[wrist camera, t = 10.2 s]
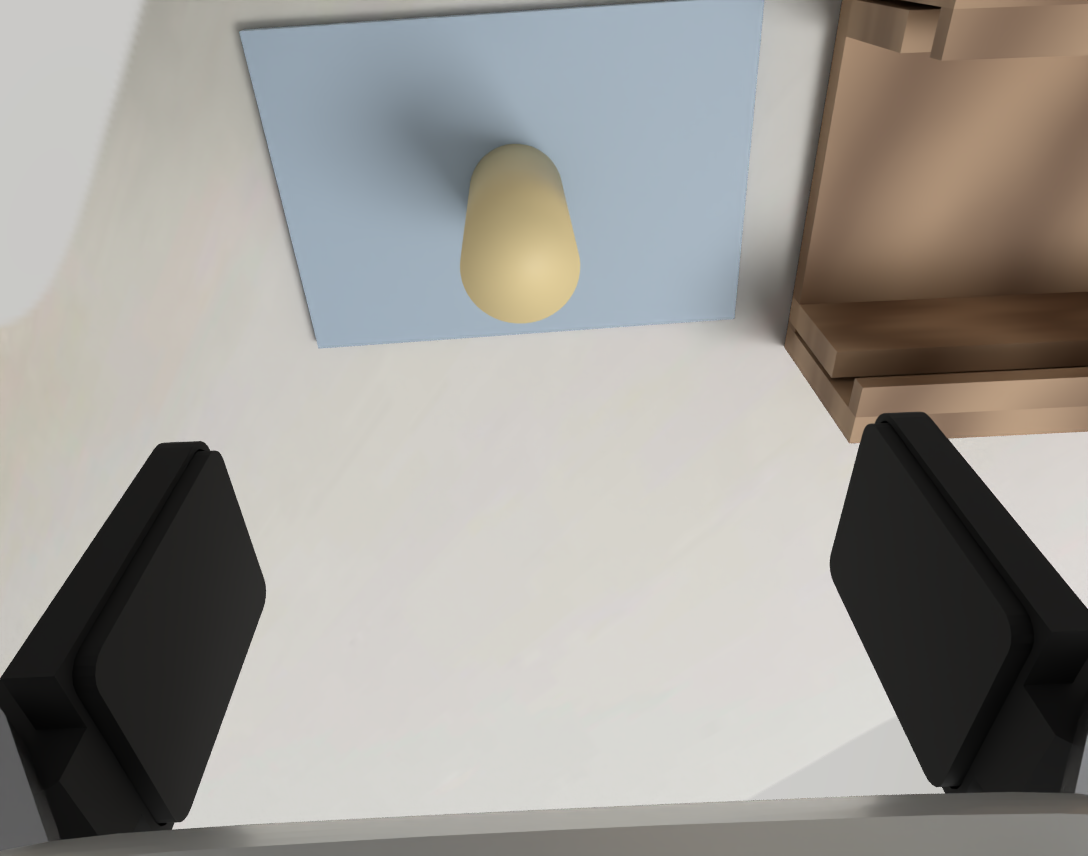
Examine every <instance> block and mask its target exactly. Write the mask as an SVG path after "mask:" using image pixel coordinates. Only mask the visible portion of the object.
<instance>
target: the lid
mask: <svg viewBox="0 0 1088 856" xmlns="http://www.w3.org/2000/svg"><path fill="white" fill-rule="evenodd" d="M763 9H764V0H673V1H658V2H644V3H629V4H614V5H599V6H585V7H570V8H555V9H540V10H525V11H511V12H496V13H481V14H466V15H452V16H437V17H422V18H407V19H392V20H378V21H363V22H348V23H333V24H319V25H304V26H289V27H274V28H259V29H245V30H242V31H239V33H240V37H241V41H242V45H243V49H244V53H245V57H246V61H247V65H248V69H249V73H250V77H251V81H252V85H253V89H254V93H255V97H256V101H257V105H258V109H259V113H260V117H261V121H262V125H263V129H264V133H265V137H266V141H267V145H268V149H269V153H270V157H271V161H272V165H273V169H274V173H275V177H276V181H277V184H278V188H279V192H280V196H281V200H282V204H283V208H284V212H285V216H286V220H287V224H288V228H289V232H290V236H291V240H292V244H293V248H294V252H295V256H296V260H297V264H298V268H299V272H300V276H301V280H302V284H303V288H304V292H305V296H306V300H307V304H308V308H309V312H310V316H311V320H312V324H313V328H314V332H315V336H316V340H317V344H318V348H332V347H346V346H361V345H375V344H389V343H403V342H417V341H431V340H445V339H459V338H473V337H487V336H501V335H515V334H529V333H543V332H557V331H571V330H585V329H599V328H613V327H627V326H641V325H655V324H669V323H683V322H698V321H712V320H726V319H734V318H735V307H736V296H737V286H738V275H739V264H740V254H741V243H742V233H743V222H744V211H745V201H746V190H747V179H748V169H749V158H750V148H751V137H752V126H753V116H754V105H755V94H756V84H757V73H758V63H759V52H760V41H761V31H762V20H763Z"/></svg>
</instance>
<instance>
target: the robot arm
mask: <svg viewBox="0 0 1088 856" xmlns="http://www.w3.org/2000/svg"><path fill="white" fill-rule="evenodd" d="M830 572H831V576H832V579H833V582H834V584H835V586H836V588H837V591H838V593H839V595H840V597H841V599H842V601H843V603H844V605H845V607H846V609H847V612H848V614H849V616H850V618H851V620H852V622H853V624H854V626H855V628H856V631H857V633H858V635H859V637H860V639H861V641H862V643H863V645H864V647H865V650H866V652H867V654H868V656H869V658H870V660H871V662H872V664H873V666H874V668H875V671H876V673H877V675H878V677H879V679H880V681H881V683H882V685H883V687H884V690H885V692H886V694H887V696H888V698H889V700H890V702H891V704H892V706H893V708H894V711H895V713H896V715H897V717H898V719H899V721H900V723H901V725H902V727H903V730H904V732H905V734H906V736H907V737H908V740H909V742H910V744H911V746H912V748H913V751H914V752H915V754H916V757H917V759H918V761H919V763H920V765H921V767H922V770H923V772H924V774H925V775H926V777H927V779H928V780H929V782H930V783H931V784H932V785H934V786H935V787H942V788H943V790H944V792H945V794H911V795H910V794H907V795H875V796H849V797H825V798H801V799H778V800H777V799H776V800H753V801H728V802H703V803H680V804H658V805H636V806H614V807H592V808H570V809H549V810H528V811H507V812H486V813H464V814H443V815H424V816H405V817H385V818H366V819H347V820H327V821H308V822H289V823H269V824H250V825H235V826H220V827H206V828H191V829H176V830H172V828H173V825H174V822H182V821H183V820H184V819H185V818H186V817H187V815H188V813H189V811H190V809H191V807H192V804H193V801H194V798H195V795H196V793H197V790H198V787H199V784H200V782H201V779H202V776H203V773H204V771H205V768H206V765H207V762H208V760H209V757H210V754H211V751H212V748H213V746H214V743H215V740H216V737H217V735H218V732H219V729H220V726H221V724H222V721H223V718H224V715H225V713H226V710H227V707H228V704H229V701H230V699H231V696H232V693H233V690H234V688H235V685H236V682H237V679H238V677H239V674H240V671H241V668H242V665H243V663H244V660H245V657H246V654H247V652H248V649H249V646H250V643H251V641H252V638H253V635H254V632H255V630H256V627H257V624H258V621H259V618H260V616H261V613H262V610H263V607H264V604H265V598H266V586H265V581H264V577H263V574H262V572H261V569H260V566H259V563H258V560H257V557H256V554H255V551H254V548H253V545H252V542H251V539H250V536H249V533H248V530H247V528H246V525H245V522H244V519H243V516H242V513H241V510H240V507H239V504H238V501H237V498H236V495H235V492H234V489H233V486H232V484H231V481H230V478H229V475H228V472H227V469H226V466H225V463H224V460H223V458H222V456H221V454H220V453H219V452H218V451H210V449H209V447H208V446H207V445H206V444H205V443H204V442H201V441H194V442H170V443H161V444H158V445H157V447H156V448H155V449H154V450H153V452H152V453H151V455H150V456H149V458H148V459H147V461H146V462H145V464H144V465H143V467H142V468H141V469H140V471H139V472H138V474H137V475H136V477H135V478H134V480H133V481H132V483H131V484H130V486H129V487H128V489H127V490H126V492H125V493H124V495H123V496H122V498H121V499H120V501H119V502H118V504H117V505H116V507H115V508H114V510H113V511H112V513H111V514H110V516H109V517H108V519H107V520H106V522H105V523H104V525H103V526H102V528H101V529H100V531H99V532H98V534H97V535H96V536H95V538H94V539H93V541H92V542H91V544H90V545H89V547H88V548H87V550H86V551H85V553H84V554H83V556H82V557H81V559H80V560H79V562H78V563H77V565H76V566H75V568H74V569H73V571H72V572H71V574H70V575H69V577H68V578H67V580H66V581H65V583H64V584H63V586H62V587H61V589H60V590H59V592H58V593H57V595H56V596H55V598H54V599H53V601H52V602H51V603H50V605H49V606H48V608H47V609H46V611H45V612H44V614H43V615H42V617H41V618H40V620H39V621H38V623H37V624H36V626H35V627H34V629H33V630H32V632H31V633H30V635H29V636H28V638H27V639H26V641H25V642H24V644H23V645H22V647H21V648H20V650H19V651H18V653H17V654H16V656H15V657H14V659H13V660H12V662H11V663H10V665H9V666H8V668H7V669H6V670H5V672H4V673H3V675H2V676H1V678H0V856H1088V609H1087V608H1086V606H1085V605H1084V604H1083V603H1082V601H1081V600H1080V599H1079V598H1078V597H1077V595H1076V594H1075V593H1074V592H1073V591H1072V589H1071V588H1070V587H1069V586H1068V584H1067V583H1066V582H1065V581H1064V580H1063V578H1062V577H1061V576H1060V575H1059V573H1058V572H1057V571H1056V570H1055V569H1054V567H1053V566H1052V565H1051V564H1050V563H1049V561H1048V560H1047V559H1046V558H1045V556H1044V555H1043V554H1042V553H1041V552H1040V550H1039V549H1038V548H1037V547H1036V545H1035V544H1034V543H1033V542H1032V541H1031V539H1030V538H1029V537H1028V536H1027V534H1026V533H1025V532H1024V531H1023V530H1022V528H1021V527H1020V526H1019V525H1018V524H1017V522H1016V521H1015V520H1014V519H1013V517H1012V516H1011V515H1010V514H1009V513H1008V511H1007V510H1006V509H1005V508H1004V506H1003V505H1002V504H1001V503H1000V502H999V500H998V499H997V498H996V497H995V496H994V494H993V493H992V492H991V491H990V489H989V488H988V487H987V486H986V485H985V483H984V482H983V481H982V480H981V478H980V477H979V476H978V475H977V474H976V472H975V471H974V470H973V469H972V468H971V466H970V465H969V464H968V463H967V461H966V460H965V459H964V458H963V457H962V455H961V454H960V453H959V452H958V450H957V449H956V448H955V447H954V446H953V444H952V443H951V442H950V441H949V440H948V438H947V437H946V436H945V435H944V433H943V432H942V431H941V430H940V429H939V427H938V426H937V425H936V424H935V422H934V421H933V420H932V419H931V418H930V416H928V415H927V414H926V413H925V412H898V413H883V414H881V415H879V416H878V418H877V419H876V421H875V423H871V424H868V425H866V427H865V428H864V431H863V434H862V437H861V441H860V445H859V449H858V453H857V456H856V460H855V464H854V468H853V472H852V476H851V479H850V483H849V487H848V491H847V495H846V498H845V502H844V506H843V510H842V514H841V518H840V521H839V525H838V529H837V533H836V537H835V540H834V544H833V548H832V552H831V556H830Z"/></svg>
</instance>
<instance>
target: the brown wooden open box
mask: <svg viewBox="0 0 1088 856" xmlns="http://www.w3.org/2000/svg"><path fill="white" fill-rule="evenodd" d="M784 347H785V349H786V350H787V352H788V353H789V355H790V356H791V358H792V359H793V361H794V362H795V364H796V365H797V367H798V368H799V370H800V371H801V373H802V374H803V376H804V377H805V378H806V380H807V381H808V383H809V384H810V386H811V387H812V389H813V390H814V392H815V393H816V395H817V396H818V398H819V399H820V401H821V402H822V404H823V405H824V407H825V408H826V410H827V411H828V412H829V414H830V415H831V417H832V418H833V420H834V421H835V423H836V424H837V426H838V427H839V429H840V430H841V432H842V433H843V435H844V436H845V438H846V439H847V441H848V442H849V443H860V441H861V437H862V434H863V431H864V428H865V427H866V425H868V424H871V423H875V421H876V419H877V418H878V416H879V415H881V414H883V413H898V412H925V413H926V414H927V415H928V416H930V418H931V419H932V420H933V421H934V422H935V424H936V425H937V426H938V427H939V429H940V430H941V431H942V432H943V433H944V435H945V436H946V437H947V438H966V437H986V436H1007V435H1027V434H1047V433H1067V432H1087V431H1088V0H842V4H841V10H840V16H839V22H838V28H837V34H836V40H835V46H834V52H833V58H832V64H831V70H830V76H829V82H828V88H827V94H826V100H825V106H824V112H823V118H822V124H821V130H820V136H819V142H818V148H817V154H816V160H815V166H814V172H813V178H812V184H811V190H810V196H809V202H808V208H807V214H806V220H805V226H804V232H803V238H802V244H801V250H800V256H799V262H798V268H797V274H796V280H795V286H794V292H793V298H792V304H791V310H790V316H789V321H788V327H787V333H786V339H785V345H784Z"/></svg>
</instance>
